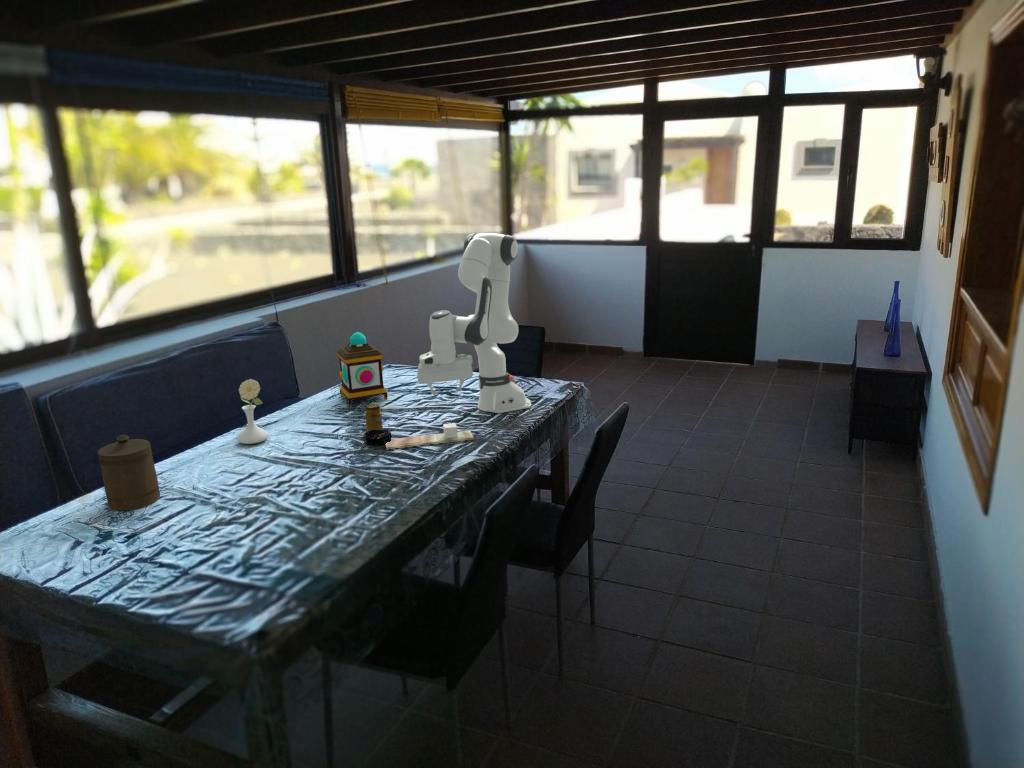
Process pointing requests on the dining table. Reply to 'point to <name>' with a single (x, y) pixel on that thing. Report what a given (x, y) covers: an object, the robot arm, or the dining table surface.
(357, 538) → the dining table surface
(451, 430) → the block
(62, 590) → the dining table surface
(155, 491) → the wooden container
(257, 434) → the flower in vase
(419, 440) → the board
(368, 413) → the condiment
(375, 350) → the decorative lantern
